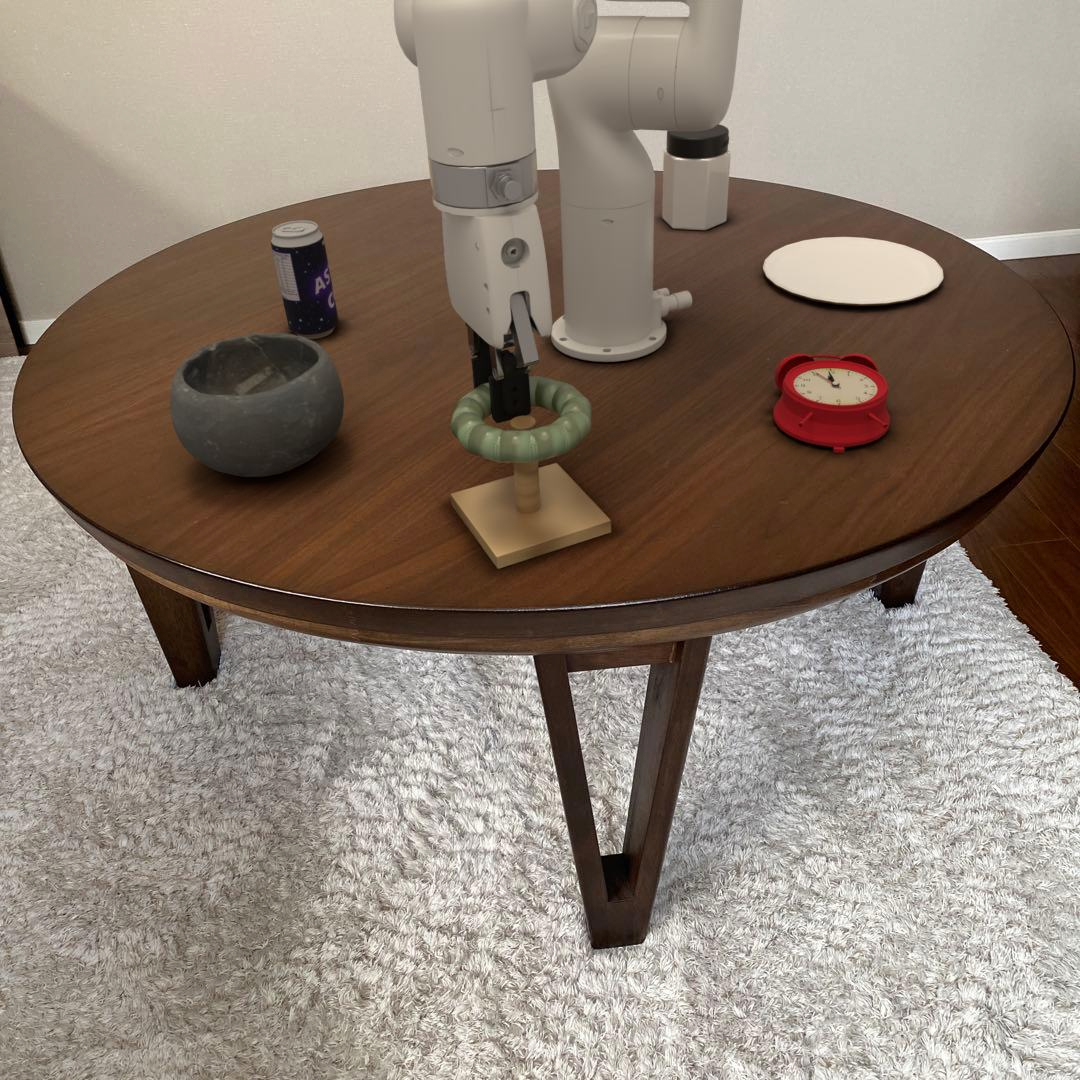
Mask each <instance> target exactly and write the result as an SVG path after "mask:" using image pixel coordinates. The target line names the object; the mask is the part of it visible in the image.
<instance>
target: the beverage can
mask: <svg viewBox="0 0 1080 1080" xmlns="http://www.w3.org/2000/svg"><path fill="white" fill-rule="evenodd" d="M271 233H272V237H271V240H270V246H271V251H272V255H273V256H272V257H273V261H274V265H275V269H276V274H277V279H278V283H279V288H280V294H281V298H282V302H283V307H284V312H285V317H286V322H287V326H288V329H289V330H290V331H291V332H292V333H293V334H295V335H296V336H301V337H305V338H307V339H309V340H315V339H320V338H324V337H327V336H329V335H330V334H331V333H333V331H334V329H335V328H336V326H337V325H338V324H339V322H340V320H339V315H338V309H337V305H336V304H337V303H336V299H335V292H334V287H333V281H332V277H331V271H330V265H329V264H330V263H329V259H328V254H327V248H326V243H325V238H324V235H323V233H322V232H321V231H320V229H319V225H318V223H317V222H315V221H312V220H304V219H303V220H301V219H300V220H291V221H286V222H282V223H280V224H278V225H276V226H274V227H273V228H272V230H271Z"/></svg>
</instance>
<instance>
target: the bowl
mask: <svg viewBox="0 0 1080 1080" xmlns="http://www.w3.org/2000/svg"><path fill="white" fill-rule="evenodd" d="M342 385H343V384H342V380H341V378H340V374H339V372H338V370H337V367H336V365H335V363H334V362H333V359H332V358H331V356H330V355H329V354H328V352H327V351H326V350H325V349H324V348H323V347H322V346H321V345H320V344H319V343H318V342H316V341H314V340H313V339H307V338H305V337H301V336H298V335H297V334H290V333H286V332H285V333H284V332H267V333H266V332H265V333H248V334H247V335H238V336H234V337H229V338H225V339H221V340H217V341H215V342H214V343H211V344H207V345H205V346H203V347H201V348H199V349H198V350H196V351H195V352H194V353H192V354H191V355H190V356H189V357H187V358H186V359H185V360H184V361H183V362H182V363H181V364H180V366H179V367H178V369H177V370H176V371H175V374H174V376H173V378H172V382H171V386H170V394H169V395H170V397H169V409H170V418H171V422H172V426H173V428H174V431H175V434H176V436H177V438H178V440H179V442H180V443H181V445H182V446H183V448H184V449H185V450H186V451H187V453H188V454H190V456H192V457H193V458H194V459H195V460H196V461H198V462H199V463H200V464H202V465H204V466H205V467H207V468H209V469H211V470H213V471H216V472H219V473H223V474H228V475H231V476H236V477H243V478H261V477H268V476H269V477H270V476H274V475H279V474H282V473H286V472H288V471H291V470H293V469H295V468H297V467H299V466H301V465H303V464H306V463H307V462H308V461H310V460H311V459H313V458H314V457H315V456H317V455H318V454H320V452H322V451H323V450H325V448H326V447H327V446H329V444H330V443H331V442H332V440H333V439H334V437H335V436H336V434H337V432H338V431H339V429H340V427H341V424H342V422H343V418H344V417H343V416H344V409H345V397H344V390H343V386H342Z"/></svg>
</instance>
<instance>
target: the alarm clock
mask: <svg viewBox="0 0 1080 1080" xmlns="http://www.w3.org/2000/svg"><path fill="white" fill-rule="evenodd" d="M816 358H818V359H819V358H825V359H822V360H815V359H816ZM774 382H775V386H776V387H777V389H778V390H779V391H780V392H781V396H780V398H779V399H778V401H777V402H776V404H775V405H774V407H773V413H772V414H773V415H772V417H773V421H774V423H775V424H776V426H777V427H778V428H779V429H780V430H781V432H783V433H785V434H787V435H788V436H790V437H791V438H793V439H796V440H798V441H801V442H805V443H806V444H812V445H816V446H821V447H830V448H833V451H832V453H834V454H845V451H846V450H845V448H849V447H856V446H862V445H866V444H869V443H872V442H874V441H876V440H879V439H880V438H881V437H883V436H884V435H885V434H886V433H887V432H888V430H889V427H890V423H891V417H890V414H889V411H888V408H887V400H888V396H889V387H888V383H887V380H886V379H885V377H884V376H883V375H882V374H881V373H880V372H879V368H878V365H877V363H876V362H875V360H874V359H872V357H870V356H868V355H866V354H863V353H855V352H854V353H848V354H845V355H843V356H840V355H839V356H838V355H831V354H812V355H811V354H810V355H809V354H806V353H802V352H800V353H799V352H798V353H793V354H790V355H788V356H786V357H785V358H783V359H782V360H781V361H780V362H779V364H778V365H777V367H776V370H775V374H774Z"/></svg>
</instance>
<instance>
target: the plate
mask: <svg viewBox="0 0 1080 1080" xmlns="http://www.w3.org/2000/svg"><path fill="white" fill-rule="evenodd" d="M762 271H763V273H764V276H765V278H766V279H767V281H769V282H771V283H772V284H773V285H774V286H775V287H776V288H778V289H780V290H782V291H783V292H786V293H788V294H790V295H792V296H796V297H800V298H803V299H806V300H809V301H811V302H812V301H813V302H818V303H825V304H830V305H835V306H851V307H876V306H877V307H878V306H889V305H895V304H896V305H897V304H902V303H907V302H911V301H914V300H917V299H921V298H924V297H925V296H927V295H929V294H930V293H932V292H934V291H936V290H937V289H939V287H940V285H941V284H942V282H943V281H944V269H943V268H942V266H941V265H940V264H939V263H938V262H937V260H936V259H935V258H933V257H931V256H930V255H928V254H926V253H924V252H923V251H921V250H918V249H916V248H913V247H910V246H907V245H905V244H900V243H897V242H892V241H888V240H884V239H883V240H882V239H877V238H875V239H874V238H868V237H856V236H834V237H833V236H832V237H831V236H830V237H829V236H828V237H819V238H811V239H804V240H800V241H797V242H793V243H790V244H786V245H784V246H782V247H780V248H778V249H775V250H774V251H772V252H771V254H769V255H768V256H767V257H766V258H765V259H764V262H763V265H762Z"/></svg>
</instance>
